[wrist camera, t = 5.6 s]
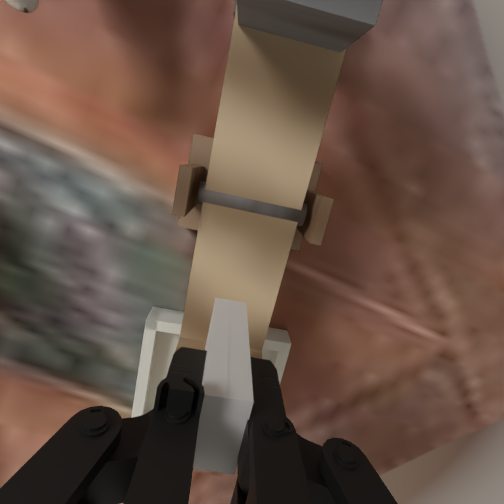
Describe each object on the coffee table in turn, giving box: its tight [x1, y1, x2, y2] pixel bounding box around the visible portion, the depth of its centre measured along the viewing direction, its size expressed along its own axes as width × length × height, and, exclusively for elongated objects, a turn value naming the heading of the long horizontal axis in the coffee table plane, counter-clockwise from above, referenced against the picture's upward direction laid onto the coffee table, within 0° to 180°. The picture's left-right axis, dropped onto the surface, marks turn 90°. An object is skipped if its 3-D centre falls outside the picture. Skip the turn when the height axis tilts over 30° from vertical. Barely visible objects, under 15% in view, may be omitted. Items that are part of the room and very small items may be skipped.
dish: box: [131, 307, 291, 418], centre depth 26 cm, size 10×11×2 cm
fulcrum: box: [172, 134, 334, 251], centre depth 19 cm, size 6×8×7 cm
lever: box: [175, 0, 383, 359], centre depth 15 cm, size 26×6×5 cm, turn 167°
